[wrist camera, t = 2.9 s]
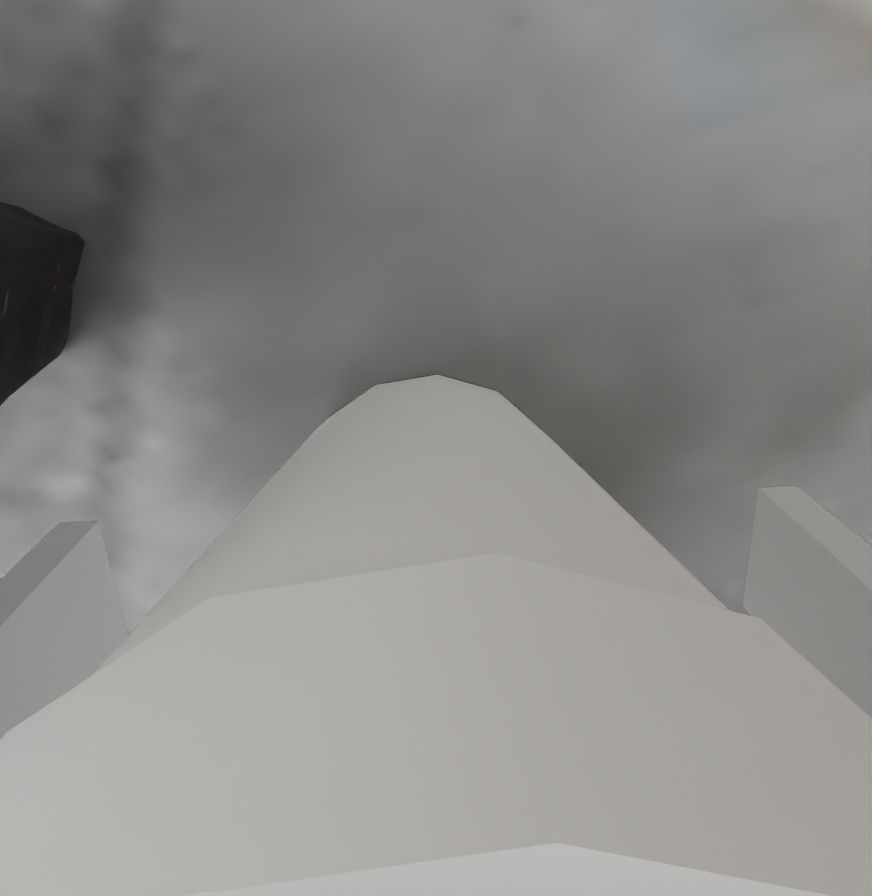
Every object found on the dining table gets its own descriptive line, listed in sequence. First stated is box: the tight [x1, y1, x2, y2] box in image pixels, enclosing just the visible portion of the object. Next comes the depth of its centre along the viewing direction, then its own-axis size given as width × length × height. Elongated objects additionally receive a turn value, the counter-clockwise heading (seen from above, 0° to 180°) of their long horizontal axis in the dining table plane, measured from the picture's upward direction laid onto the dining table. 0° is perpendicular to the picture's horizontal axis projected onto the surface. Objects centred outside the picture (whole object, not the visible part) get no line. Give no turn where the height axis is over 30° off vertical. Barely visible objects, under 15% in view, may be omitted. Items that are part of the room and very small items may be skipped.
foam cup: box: [0, 375, 872, 896], centre depth 11 cm, size 10×9×13 cm
